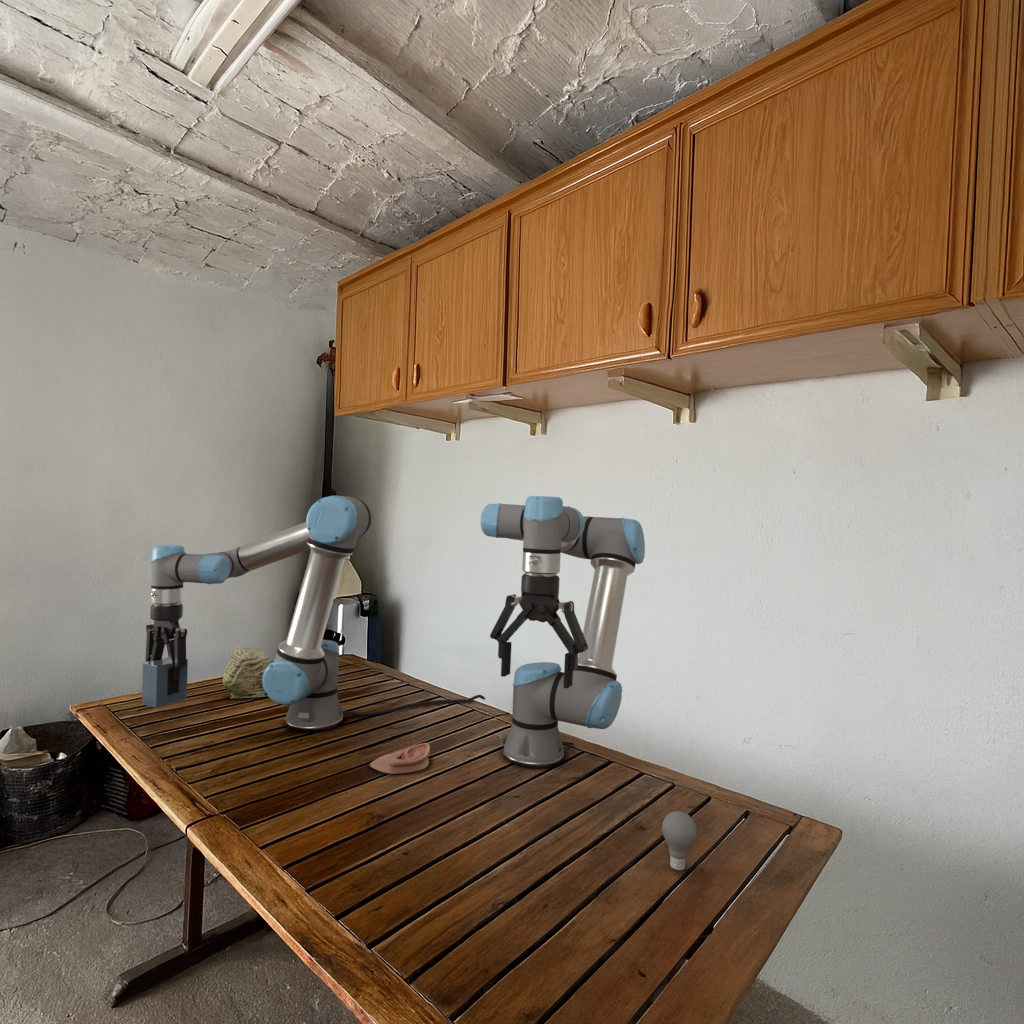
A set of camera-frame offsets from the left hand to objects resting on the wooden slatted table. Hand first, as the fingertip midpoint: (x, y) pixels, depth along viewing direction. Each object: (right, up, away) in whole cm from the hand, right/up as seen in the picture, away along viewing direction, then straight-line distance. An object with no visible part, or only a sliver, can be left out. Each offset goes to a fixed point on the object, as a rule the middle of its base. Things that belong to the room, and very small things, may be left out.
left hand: (164, 691), depth 167 cm
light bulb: (+121, -16, -55) cm, 134 cm away
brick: (0, -3, 0) cm, 3 cm away
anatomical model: (+65, -13, -16) cm, 68 cm away
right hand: (+96, +14, -42) cm, 106 cm away
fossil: (+11, -10, +31) cm, 34 cm away
